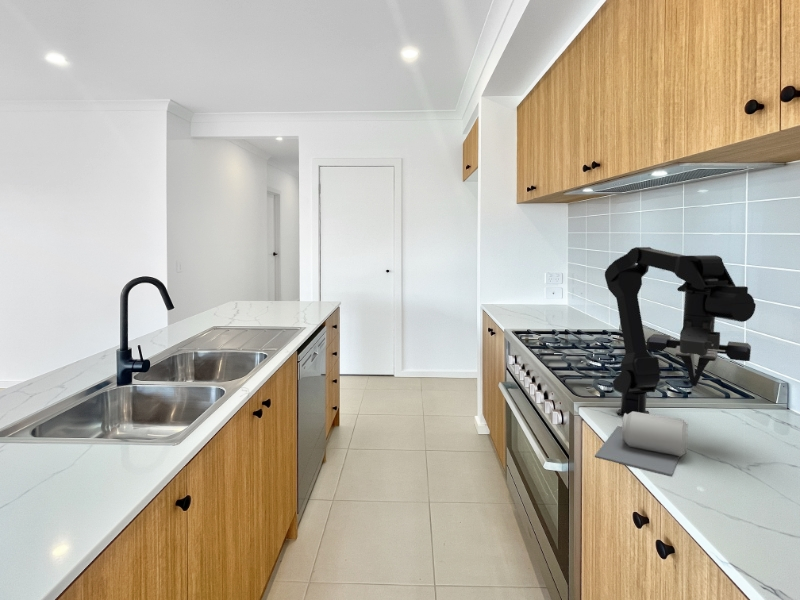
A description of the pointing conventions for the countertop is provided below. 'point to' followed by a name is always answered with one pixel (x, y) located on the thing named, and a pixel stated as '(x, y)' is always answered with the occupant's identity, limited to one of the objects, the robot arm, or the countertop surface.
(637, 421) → the can
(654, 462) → the mat
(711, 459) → the countertop surface
